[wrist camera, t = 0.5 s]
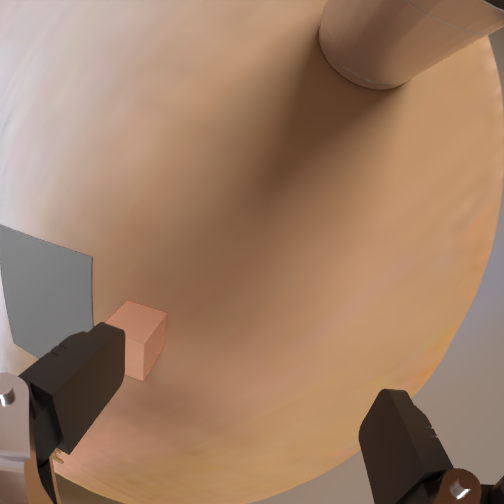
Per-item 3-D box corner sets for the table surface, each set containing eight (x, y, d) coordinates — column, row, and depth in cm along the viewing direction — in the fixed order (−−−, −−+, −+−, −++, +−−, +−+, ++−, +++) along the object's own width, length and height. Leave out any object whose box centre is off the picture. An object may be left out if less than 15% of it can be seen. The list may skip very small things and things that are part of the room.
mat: (-2, 223, 29) (-3, 224, 29) (92, 257, 28) (91, 257, 28) (14, 342, 35) (13, 342, 35) (99, 388, 34) (98, 389, 34)
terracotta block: (127, 300, 29) (99, 328, 24) (167, 313, 29) (144, 344, 23) (127, 334, 31) (101, 364, 25) (163, 347, 31) (143, 381, 25)
